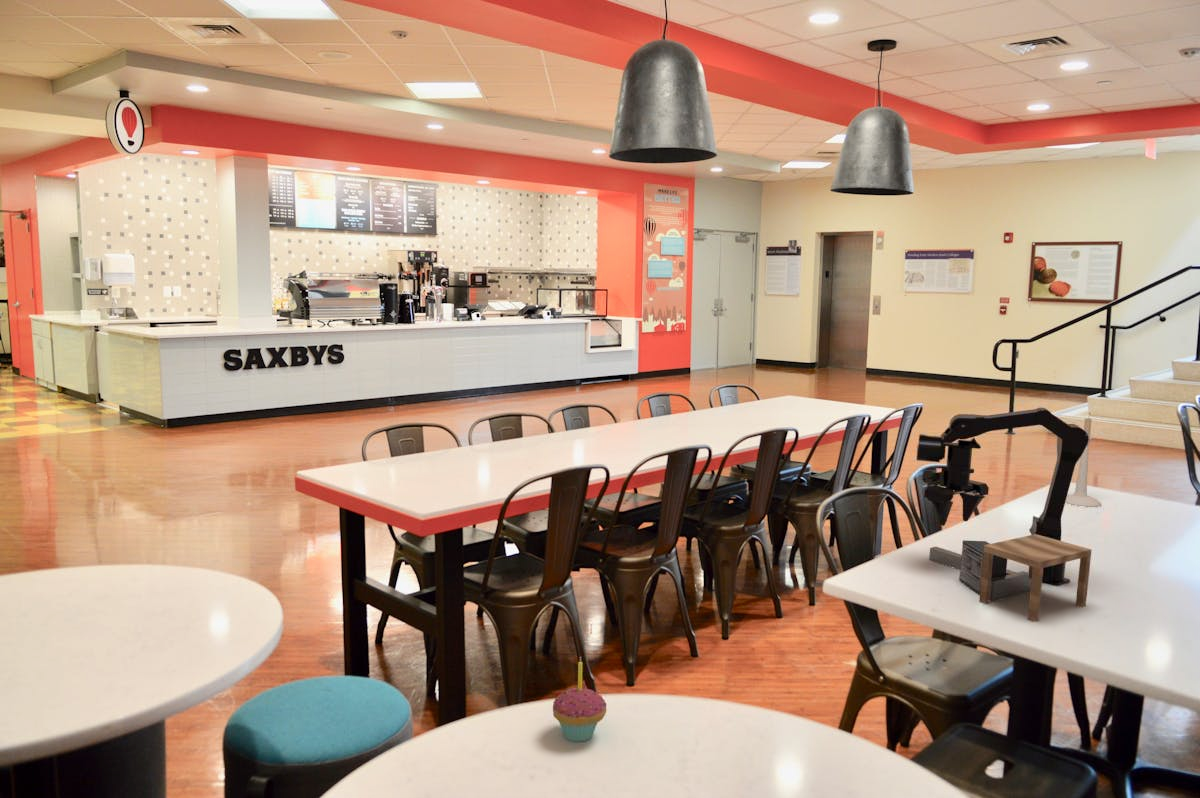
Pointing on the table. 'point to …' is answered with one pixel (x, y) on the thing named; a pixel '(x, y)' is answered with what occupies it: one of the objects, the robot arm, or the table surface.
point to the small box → (978, 564)
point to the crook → (999, 586)
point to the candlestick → (1083, 478)
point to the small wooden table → (1036, 565)
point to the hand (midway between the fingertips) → (953, 523)
